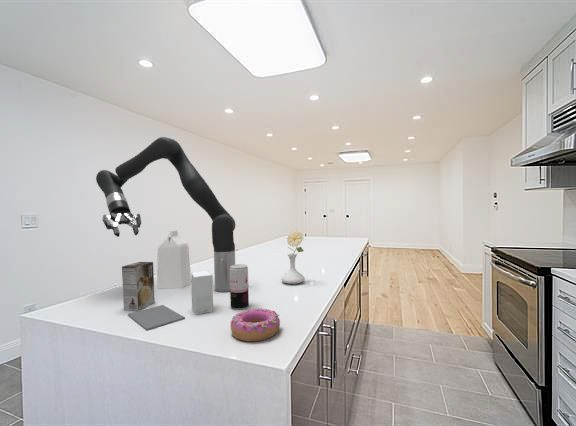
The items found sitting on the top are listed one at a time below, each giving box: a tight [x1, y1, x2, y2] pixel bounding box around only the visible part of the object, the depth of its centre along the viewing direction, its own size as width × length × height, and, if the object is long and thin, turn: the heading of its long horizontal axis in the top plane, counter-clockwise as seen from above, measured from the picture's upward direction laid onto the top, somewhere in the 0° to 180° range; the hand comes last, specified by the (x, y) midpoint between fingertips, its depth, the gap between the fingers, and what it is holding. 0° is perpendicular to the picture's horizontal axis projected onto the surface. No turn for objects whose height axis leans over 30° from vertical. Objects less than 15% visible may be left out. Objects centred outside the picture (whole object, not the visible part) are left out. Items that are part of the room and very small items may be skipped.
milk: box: [156, 229, 192, 290], centre depth 135 cm, size 12×12×26 cm
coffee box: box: [121, 261, 155, 312], centre depth 106 cm, size 9×6×16 cm
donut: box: [230, 307, 281, 342], centre depth 83 cm, size 14×14×5 cm
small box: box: [190, 270, 214, 315], centre depth 101 cm, size 8×6×13 cm
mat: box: [127, 304, 186, 331], centre depth 95 cm, size 18×12×1 cm, turn 46°
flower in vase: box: [280, 230, 306, 285], centre depth 135 cm, size 13×11×25 cm
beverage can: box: [229, 263, 250, 311], centre depth 103 cm, size 7×6×15 cm
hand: (127, 234), depth 113 cm, fingers open, 6 cm apart
